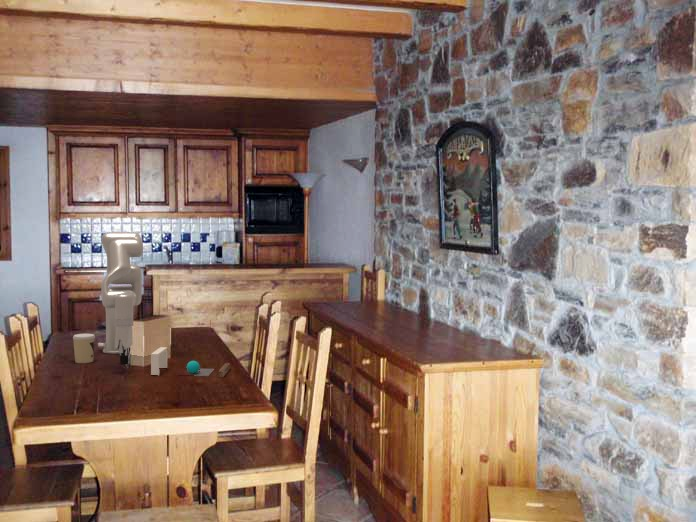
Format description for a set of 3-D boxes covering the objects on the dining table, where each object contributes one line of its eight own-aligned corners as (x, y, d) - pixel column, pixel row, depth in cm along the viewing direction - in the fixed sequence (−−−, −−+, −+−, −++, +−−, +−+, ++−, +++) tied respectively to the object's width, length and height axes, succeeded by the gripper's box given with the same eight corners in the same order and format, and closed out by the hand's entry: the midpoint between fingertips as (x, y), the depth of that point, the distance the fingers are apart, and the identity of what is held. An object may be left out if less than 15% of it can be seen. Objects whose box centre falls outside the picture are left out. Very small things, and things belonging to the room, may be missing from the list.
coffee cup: (95, 362, 329) (95, 336, 328) (73, 364, 326) (73, 337, 325) (94, 358, 338) (94, 332, 337) (73, 359, 334) (72, 333, 334)
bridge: (151, 375, 307) (151, 353, 306) (160, 367, 322) (160, 347, 321) (158, 375, 307) (158, 354, 306) (167, 367, 321) (167, 347, 321)
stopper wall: (218, 377, 306) (218, 371, 306) (225, 368, 322) (225, 363, 322) (223, 377, 306) (223, 371, 306) (229, 368, 322) (229, 363, 322)
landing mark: (177, 375, 308) (177, 375, 308) (184, 368, 321) (184, 368, 321) (208, 376, 307) (208, 375, 307) (214, 369, 320) (214, 368, 320)
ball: (191, 377, 309) (182, 368, 309) (194, 375, 314) (185, 366, 314) (200, 368, 309) (191, 359, 309) (203, 366, 314) (194, 357, 314)
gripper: (121, 318, 321) (121, 359, 323) (109, 325, 306) (109, 368, 308) (138, 319, 320) (138, 360, 322) (127, 325, 306) (127, 368, 308)
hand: (124, 363), depth 315 cm, fingers closed
